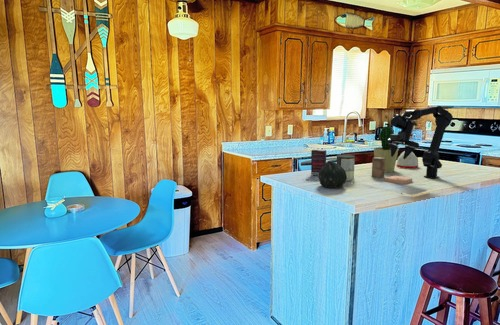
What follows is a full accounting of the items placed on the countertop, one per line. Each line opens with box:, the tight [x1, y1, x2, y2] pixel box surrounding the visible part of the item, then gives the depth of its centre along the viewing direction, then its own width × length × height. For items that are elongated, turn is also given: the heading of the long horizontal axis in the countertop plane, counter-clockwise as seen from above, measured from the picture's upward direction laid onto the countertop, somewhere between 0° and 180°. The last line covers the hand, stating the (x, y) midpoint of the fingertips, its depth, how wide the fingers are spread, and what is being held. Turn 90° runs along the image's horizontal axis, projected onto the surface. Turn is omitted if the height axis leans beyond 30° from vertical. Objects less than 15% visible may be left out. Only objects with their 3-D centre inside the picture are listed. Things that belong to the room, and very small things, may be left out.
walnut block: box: [371, 157, 386, 179], centre depth 203 cm, size 5×5×12 cm
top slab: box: [384, 175, 413, 185], centre depth 190 cm, size 10×10×2 cm
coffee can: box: [336, 154, 356, 182], centre depth 202 cm, size 10×10×14 cm
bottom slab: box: [383, 180, 415, 186], centre depth 190 cm, size 12×12×2 cm
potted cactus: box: [373, 125, 400, 173], centre depth 227 cm, size 15×15×30 cm
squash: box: [317, 160, 347, 189], centre depth 184 cm, size 14×15×15 cm
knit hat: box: [396, 150, 419, 170], centre depth 242 cm, size 14×14×15 cm
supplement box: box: [310, 149, 327, 177], centre depth 214 cm, size 9×5×16 cm, turn 65°
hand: (397, 157), depth 195 cm, fingers open, 9 cm apart
